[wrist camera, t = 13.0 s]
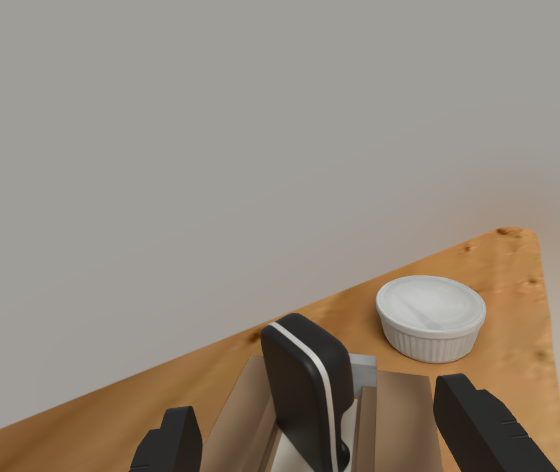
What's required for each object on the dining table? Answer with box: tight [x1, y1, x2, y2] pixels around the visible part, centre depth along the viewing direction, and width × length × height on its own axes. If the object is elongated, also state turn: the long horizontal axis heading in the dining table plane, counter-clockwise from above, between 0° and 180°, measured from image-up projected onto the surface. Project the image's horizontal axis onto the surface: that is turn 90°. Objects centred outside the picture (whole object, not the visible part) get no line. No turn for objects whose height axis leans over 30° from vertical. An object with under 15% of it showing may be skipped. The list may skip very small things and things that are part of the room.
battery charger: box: [260, 313, 354, 472], centre depth 25 cm, size 7×4×11 cm, turn 35°
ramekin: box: [376, 276, 486, 364], centre depth 37 cm, size 11×11×5 cm
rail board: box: [200, 353, 443, 472], centre depth 27 cm, size 19×15×5 cm
